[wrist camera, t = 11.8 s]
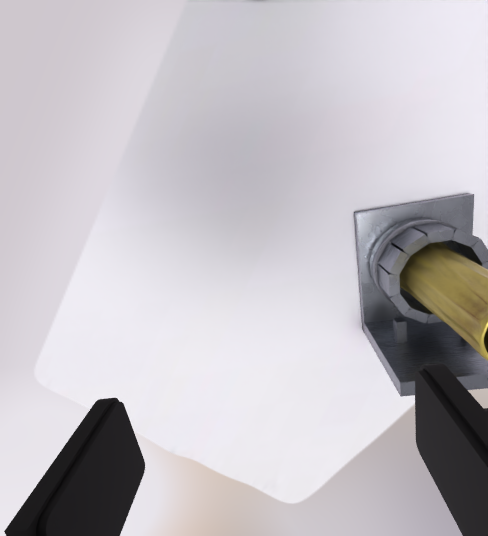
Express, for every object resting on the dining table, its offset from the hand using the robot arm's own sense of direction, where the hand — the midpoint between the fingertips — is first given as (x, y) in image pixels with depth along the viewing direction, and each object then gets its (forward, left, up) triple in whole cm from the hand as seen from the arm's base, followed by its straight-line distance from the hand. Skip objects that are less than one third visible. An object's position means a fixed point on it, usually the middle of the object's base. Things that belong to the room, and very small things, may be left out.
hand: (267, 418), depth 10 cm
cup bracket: (+6, +16, -28) cm, 33 cm away
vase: (+6, +16, -26) cm, 31 cm away
